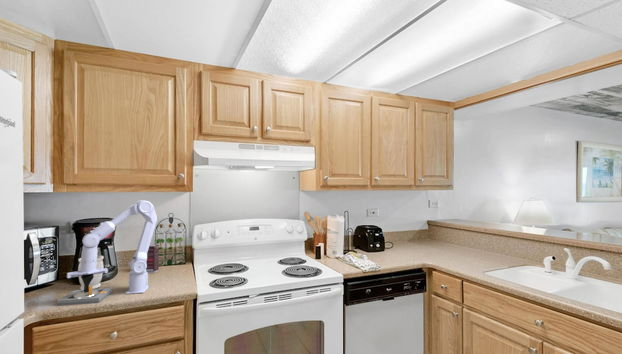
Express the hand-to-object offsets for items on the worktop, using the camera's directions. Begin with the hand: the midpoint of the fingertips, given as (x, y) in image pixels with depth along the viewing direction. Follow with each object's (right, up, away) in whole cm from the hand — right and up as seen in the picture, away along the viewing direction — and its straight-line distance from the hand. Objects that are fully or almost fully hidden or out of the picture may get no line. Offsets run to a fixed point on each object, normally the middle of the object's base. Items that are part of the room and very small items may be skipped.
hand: (86, 291), depth 133 cm
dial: (-2, -3, +3) cm, 5 cm away
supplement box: (+4, -6, +45) cm, 46 cm away
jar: (-11, -5, +18) cm, 21 cm away
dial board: (-2, -4, +3) cm, 5 cm away
